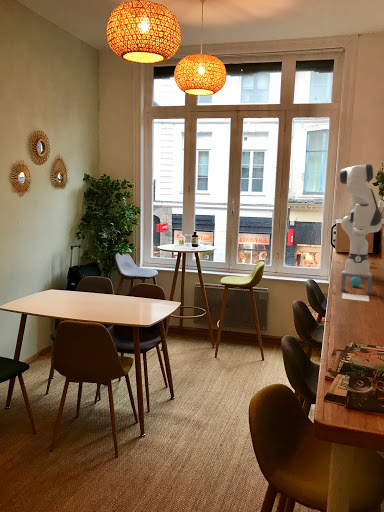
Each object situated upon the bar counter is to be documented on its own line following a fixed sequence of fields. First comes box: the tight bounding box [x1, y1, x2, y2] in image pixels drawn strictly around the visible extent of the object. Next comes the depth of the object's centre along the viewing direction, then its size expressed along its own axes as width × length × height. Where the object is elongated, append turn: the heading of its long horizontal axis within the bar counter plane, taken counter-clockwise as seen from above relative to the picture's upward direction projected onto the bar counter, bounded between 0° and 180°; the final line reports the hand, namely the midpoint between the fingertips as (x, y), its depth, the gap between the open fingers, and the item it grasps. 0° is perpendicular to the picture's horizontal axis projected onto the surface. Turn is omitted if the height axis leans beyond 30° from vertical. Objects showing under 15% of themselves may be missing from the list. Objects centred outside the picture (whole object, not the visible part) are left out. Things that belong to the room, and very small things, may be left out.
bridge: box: [340, 273, 373, 295], centre depth 249 cm, size 3×15×10 cm, turn 71°
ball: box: [350, 277, 363, 287], centre depth 264 cm, size 6×6×6 cm
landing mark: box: [341, 292, 370, 303], centre depth 236 cm, size 13×13×1 cm
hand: (358, 254), depth 271 cm, fingers closed
